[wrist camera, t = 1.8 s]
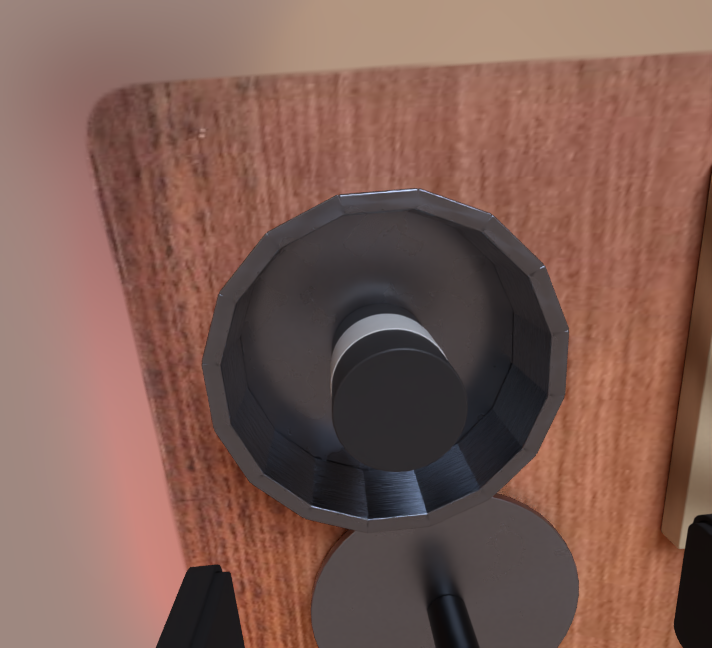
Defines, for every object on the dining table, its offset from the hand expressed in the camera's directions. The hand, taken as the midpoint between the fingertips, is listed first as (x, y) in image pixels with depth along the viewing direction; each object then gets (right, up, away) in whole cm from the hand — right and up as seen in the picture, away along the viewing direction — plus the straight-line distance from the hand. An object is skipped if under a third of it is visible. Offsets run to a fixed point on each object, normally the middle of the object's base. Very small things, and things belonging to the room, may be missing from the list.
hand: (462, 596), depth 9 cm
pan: (-1, +4, +14) cm, 15 cm away
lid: (+3, -12, +18) cm, 22 cm away
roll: (-1, +4, +14) cm, 14 cm away
